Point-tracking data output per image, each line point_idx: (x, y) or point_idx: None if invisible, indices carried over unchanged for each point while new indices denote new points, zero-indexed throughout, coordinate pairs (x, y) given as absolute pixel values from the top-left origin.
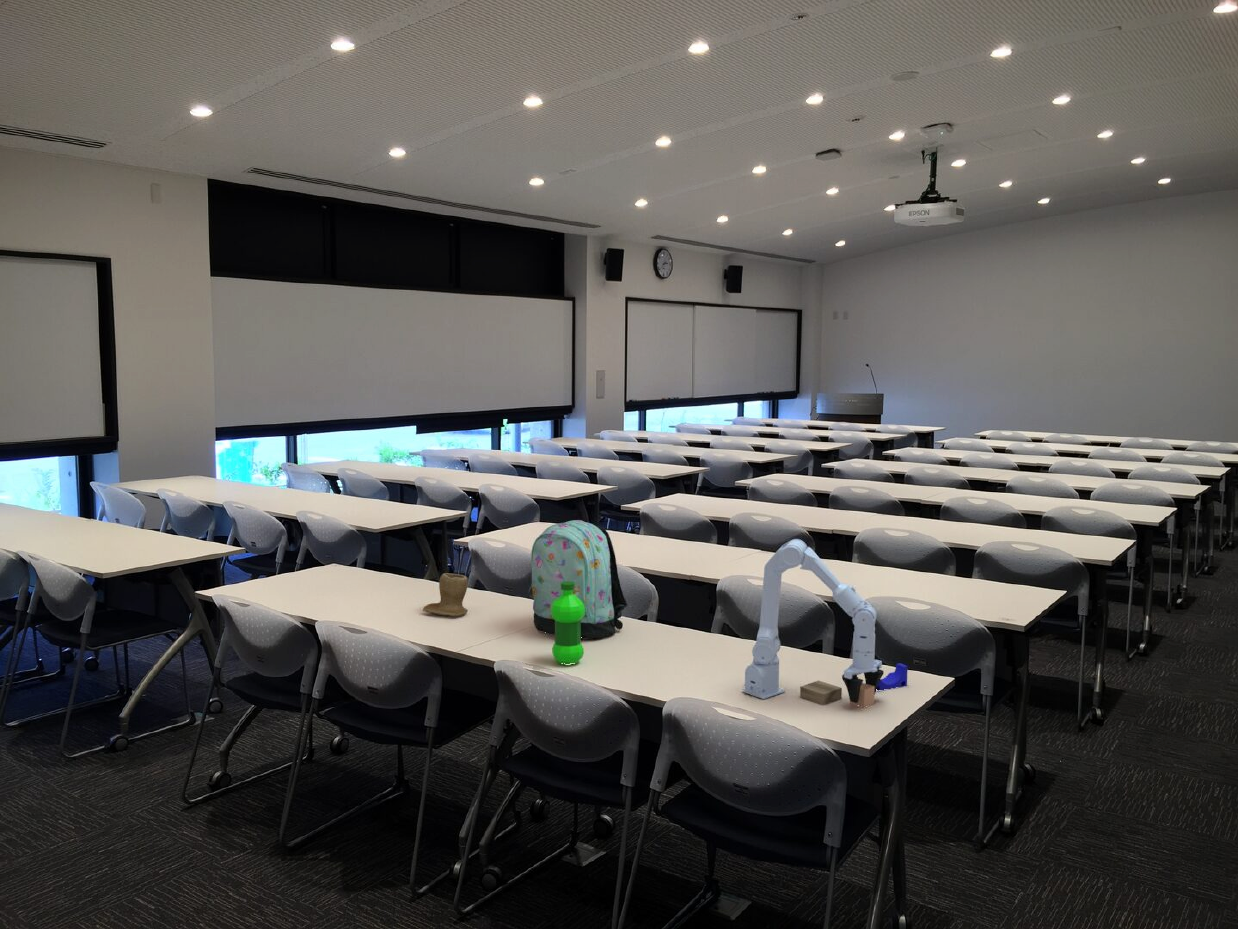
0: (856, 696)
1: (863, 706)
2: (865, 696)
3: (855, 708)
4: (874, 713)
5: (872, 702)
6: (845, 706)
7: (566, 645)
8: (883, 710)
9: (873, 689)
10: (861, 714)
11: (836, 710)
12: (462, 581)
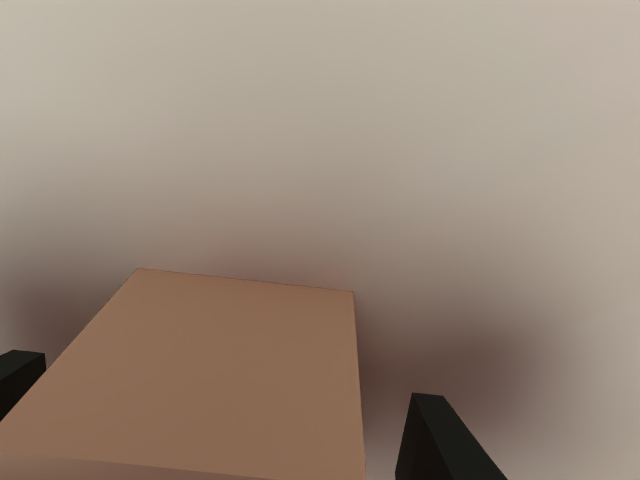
0: (493, 471)
1: (352, 309)
2: (327, 384)
3: (436, 355)
4: (450, 96)
5: (160, 286)
6: None
7: None
8: (245, 56)
9: (47, 410)
10: (597, 211)
11: (630, 462)
12: None
